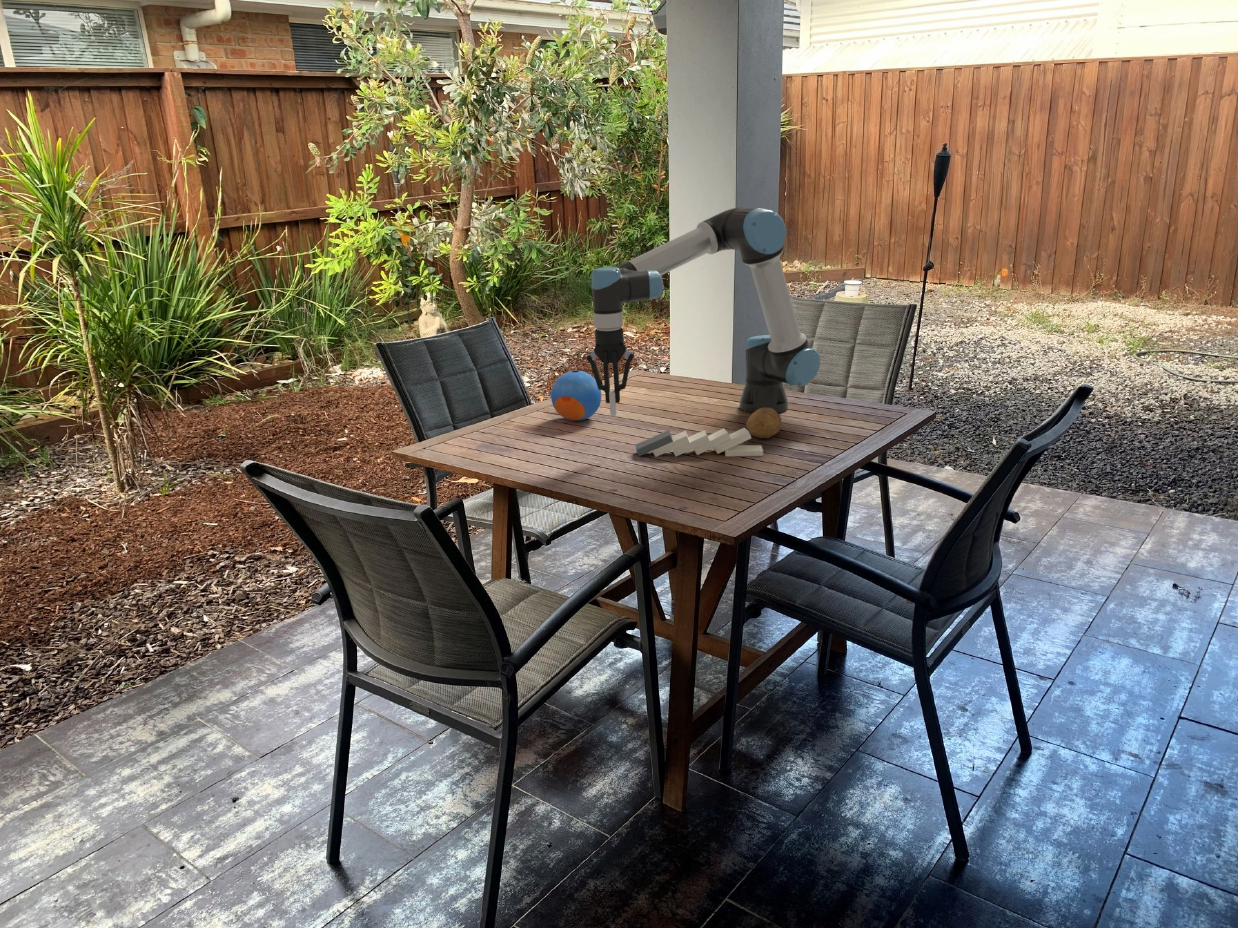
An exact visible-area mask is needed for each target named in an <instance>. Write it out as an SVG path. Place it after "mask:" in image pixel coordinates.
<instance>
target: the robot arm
mask: <svg viewBox="0 0 1238 928" xmlns="http://www.w3.org/2000/svg"><path fill="white" fill-rule="evenodd" d="M784 221H785V220H783V218H782V216H780V215H779V213H777V212H775V211H773V210H771V209H767V208H760V207H759V208H749V207H747V208H744V207H734V208H729V209H727V210H724V211H722V212H720V213H718V214H715V215H713V216H711V217H709V218H707V219H705V220H702V221H701V222H699V223H698V224H697V225H696V228H694V229H692V230H690V231H689V232H687V233H684V234H681V235H680V236H678V237H676V238H674V239H671V240H669V241H667V242H665V243H663V244H661V245H659V246H657V247H655V248H653V249H651V250H648V251H646V252H645V253H643V254H640V255H639V256H636V257H634V258H632V259H630V260H627V261H625V262H623V263H621V264H619V265H617V266H613V265H610V266H606V267H604V266H603V267H598V268H595V269H594V270H593V271H591V272H592V273H591V287H590V288H591V292H592V293H591V294H592V304H593V326H594V328H595V330H594V340H595V341H594V342H595V345H594V348H593V351H592V352H591V353H588V354H587V355H586V360H587V361H588V363H589V364H590V367H591V371H592V374H593V377H594V378H595V380H596V383H597V387H598V389H599V390H601V391H603V392H604V396H605V397H604V398H605V403H606V404H609V412H610V413H609V414H610V415H609V416H611V417H616V416H617V413H618V412H617V411H618V410H617V404H619V403H620V402H621V393H620V391H621V390H625V389H626V387H627V382H628V377H629V373H630V367H631V362H632V361H633V359H634V358H635V353H634V352H633V351H632V352H631V351H630V350H627V347H626V346H625V338H624V329H623V326H624V322H623V321H624V320H623V319H624V317H623V304H627V303H635V302H641V301H651V300H655V299H658V298H660V297H661V296H662V294H663V291H664V281H663V275H665V274H667V273H669V272H671V271H673V270H675V269H678V268H679V267H681V266H683V265H685V264H688V263H689V262H692V261H694V260H696V259H698V258H700V257H702V256H704V255H707V254H708V255H714V254H716V253H719V252H721V251H727V250H735V251H739V253H740V257H741V259H742V263H743V264H744V265H745V266H747V267H749V268H750V271H751V274H752V278H753V282H754V285H755V288H756V289H755V290H756V292H757V295H758V298H759V303H760V307H761V311H762V313H763V314H762V315H763V316H764V320H765V323H766V327H767V330H768V334H765V335H764V334H763V335H756V336H755V335H754V336H751V337H749V338H747V340H746V343H745V385H744V387H743V390H742V393H741V395H740V396H741V397H740V399H739V408H740V410H741V411H743V412H746V413H749V414H750V413H751V414H753V413H754V412H755V411H756V410H758V409H760V408H772V409H774V410H775V411H776V412H777V413H778V414H780V413H782V412H786V411H787V410H788V409H789V401H788V396H787V394H786V390H785V387H784V384H788V385H790V386H797V387H803V386H804V387H805V386H807V385H809V384H810V383H811V382H812V381H813V380H814V379H816V376H817V374H818V372H819V371H820V368H821V356H820V354H819V352H818V351H817V350H815V349H814V348H812V347H811V348H810V345H809V341H808V338H807V335H806V334H805V333H803V332H800V327H799V325H798V320H797V317H796V314H795V310H794V306H793V301H792V299H791V295H790V291H789V287H788V284H787V280H786V277H785V271H784V269H783V266H782V262H781V261H782V260H781V256H782V254H783V252H784V248H783V246H784V244H785V242H786V240H785V239H786V238H787V227H786V224H785V222H784ZM624 355H625V356H624ZM623 356H624V358H625V360H626V361H625V365H624V368H623V369H624V370H623V374H622V375H623V376H622V381H621V384H620V370H619V368H620V367H619V362H620V361H621V359H622V358H623ZM597 358H598V359H599V360H600V362H601V363H602V367H603V381H602V377H601V374H600V370H599V368H598V363H597V361H596V359H597ZM610 364H612V371H613V387H614V389H611V383H610V382H611V381H610V379H611V378H610ZM603 382H604V383H603Z"/></svg>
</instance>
